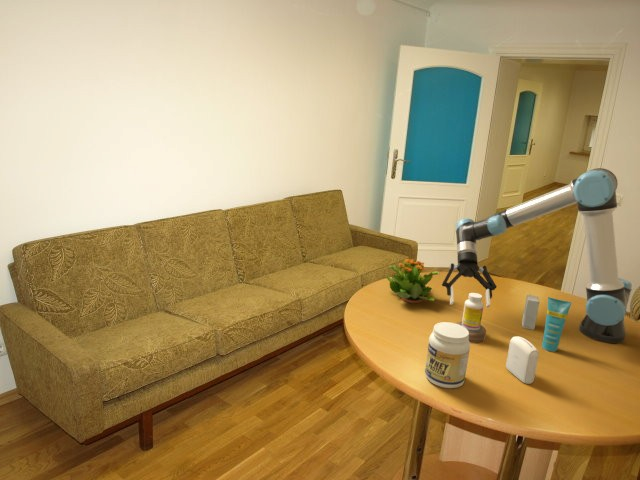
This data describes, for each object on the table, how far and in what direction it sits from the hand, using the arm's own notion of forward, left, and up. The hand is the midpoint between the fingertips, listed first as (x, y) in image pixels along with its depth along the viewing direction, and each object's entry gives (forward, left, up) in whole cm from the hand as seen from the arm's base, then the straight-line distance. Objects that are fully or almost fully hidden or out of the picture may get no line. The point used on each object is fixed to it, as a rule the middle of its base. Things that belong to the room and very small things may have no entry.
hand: (470, 304), depth 175 cm
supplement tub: (-23, +32, -10) cm, 41 cm away
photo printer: (-31, +8, -10) cm, 34 cm away
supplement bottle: (-4, +3, -7) cm, 9 cm away
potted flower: (+31, +3, -10) cm, 32 cm away
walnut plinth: (-4, +3, -10) cm, 11 cm away
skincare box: (-7, -25, -10) cm, 28 cm away
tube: (-23, -17, -10) cm, 31 cm away
